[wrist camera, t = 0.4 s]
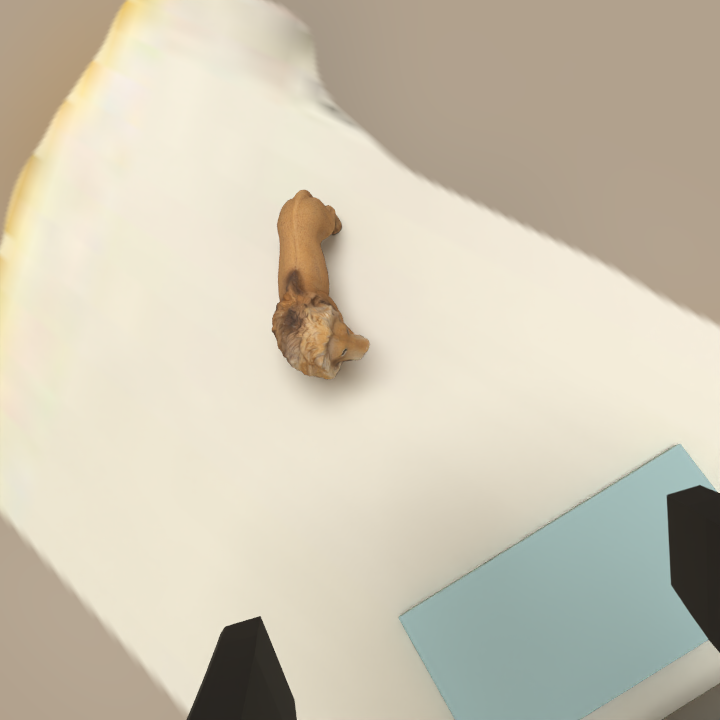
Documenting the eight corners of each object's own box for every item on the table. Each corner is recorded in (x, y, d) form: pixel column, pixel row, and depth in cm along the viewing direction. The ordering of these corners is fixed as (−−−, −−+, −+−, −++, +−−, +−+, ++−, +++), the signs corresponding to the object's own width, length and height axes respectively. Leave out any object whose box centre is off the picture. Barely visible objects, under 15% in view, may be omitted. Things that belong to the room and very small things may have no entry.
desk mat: (783, 586, 33) (791, 588, 33) (486, 771, 33) (487, 777, 32) (675, 445, 36) (680, 443, 35) (399, 615, 36) (398, 617, 35)
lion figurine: (387, 389, 39) (368, 351, 31) (308, 410, 40) (268, 379, 31) (335, 194, 44) (306, 113, 35) (264, 216, 44) (218, 141, 35)
